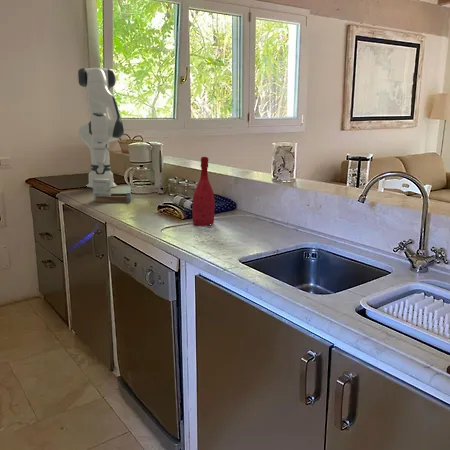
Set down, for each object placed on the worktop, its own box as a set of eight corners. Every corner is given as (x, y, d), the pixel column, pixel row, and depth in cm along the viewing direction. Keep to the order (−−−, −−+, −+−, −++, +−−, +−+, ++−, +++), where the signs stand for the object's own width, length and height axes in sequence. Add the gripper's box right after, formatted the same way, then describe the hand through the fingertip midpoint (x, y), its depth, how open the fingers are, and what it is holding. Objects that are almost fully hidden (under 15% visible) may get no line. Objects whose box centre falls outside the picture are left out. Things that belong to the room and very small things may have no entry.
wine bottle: (217, 222, 210) (219, 156, 203) (209, 227, 201) (211, 158, 194) (197, 220, 213) (198, 155, 206) (188, 225, 204) (189, 157, 197)
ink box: (111, 200, 253) (111, 178, 250) (108, 201, 248) (108, 180, 246) (96, 199, 254) (95, 177, 251) (93, 201, 249) (92, 179, 246)
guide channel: (97, 198, 256) (97, 189, 254) (130, 198, 259) (130, 189, 258) (95, 202, 246) (95, 193, 244) (130, 202, 249) (130, 193, 248)
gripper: (96, 143, 253) (97, 168, 256) (92, 145, 234) (93, 172, 237) (107, 143, 254) (108, 168, 257) (105, 145, 235) (106, 172, 238)
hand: (101, 170), depth 247 cm, fingers open, 8 cm apart
